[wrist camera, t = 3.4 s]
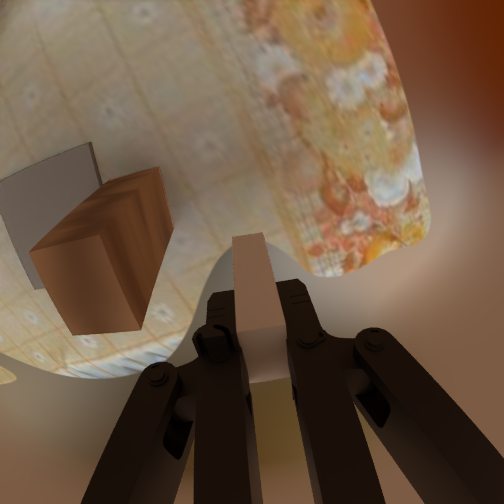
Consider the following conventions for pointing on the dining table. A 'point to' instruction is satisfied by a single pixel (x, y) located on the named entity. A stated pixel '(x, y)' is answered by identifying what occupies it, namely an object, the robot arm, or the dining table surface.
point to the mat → (45, 199)
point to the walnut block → (107, 255)
